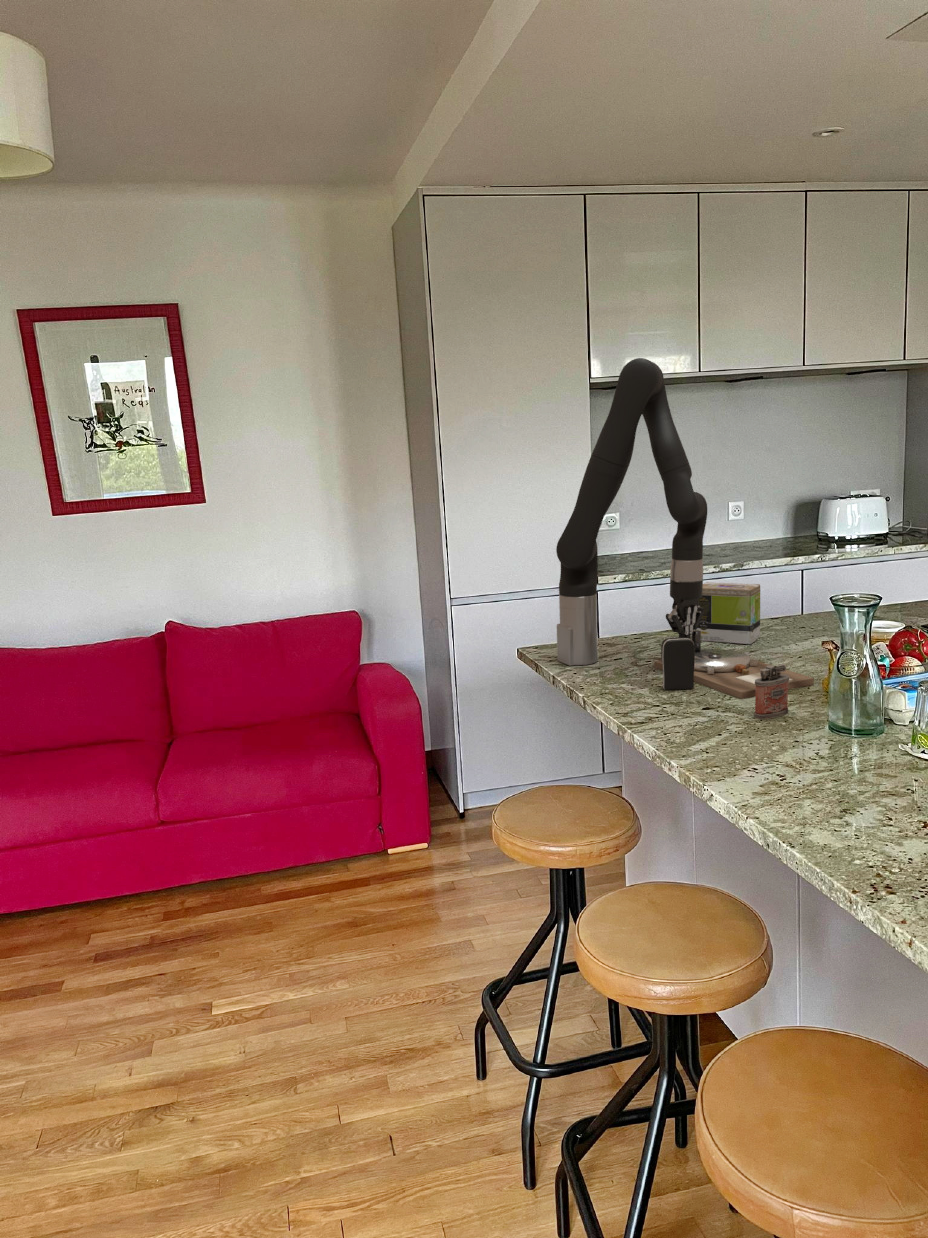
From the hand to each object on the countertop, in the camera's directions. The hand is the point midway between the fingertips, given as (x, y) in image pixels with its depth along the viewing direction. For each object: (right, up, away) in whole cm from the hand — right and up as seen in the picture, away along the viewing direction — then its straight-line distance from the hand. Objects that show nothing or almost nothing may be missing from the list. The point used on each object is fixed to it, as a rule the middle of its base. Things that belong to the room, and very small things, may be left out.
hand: (684, 648), depth 217 cm
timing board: (+9, -6, -8) cm, 13 cm away
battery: (-5, -8, -16) cm, 19 cm away
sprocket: (+6, -3, -3) cm, 8 cm away
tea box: (+18, +2, +26) cm, 32 cm away
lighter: (+8, -12, -37) cm, 39 cm away
